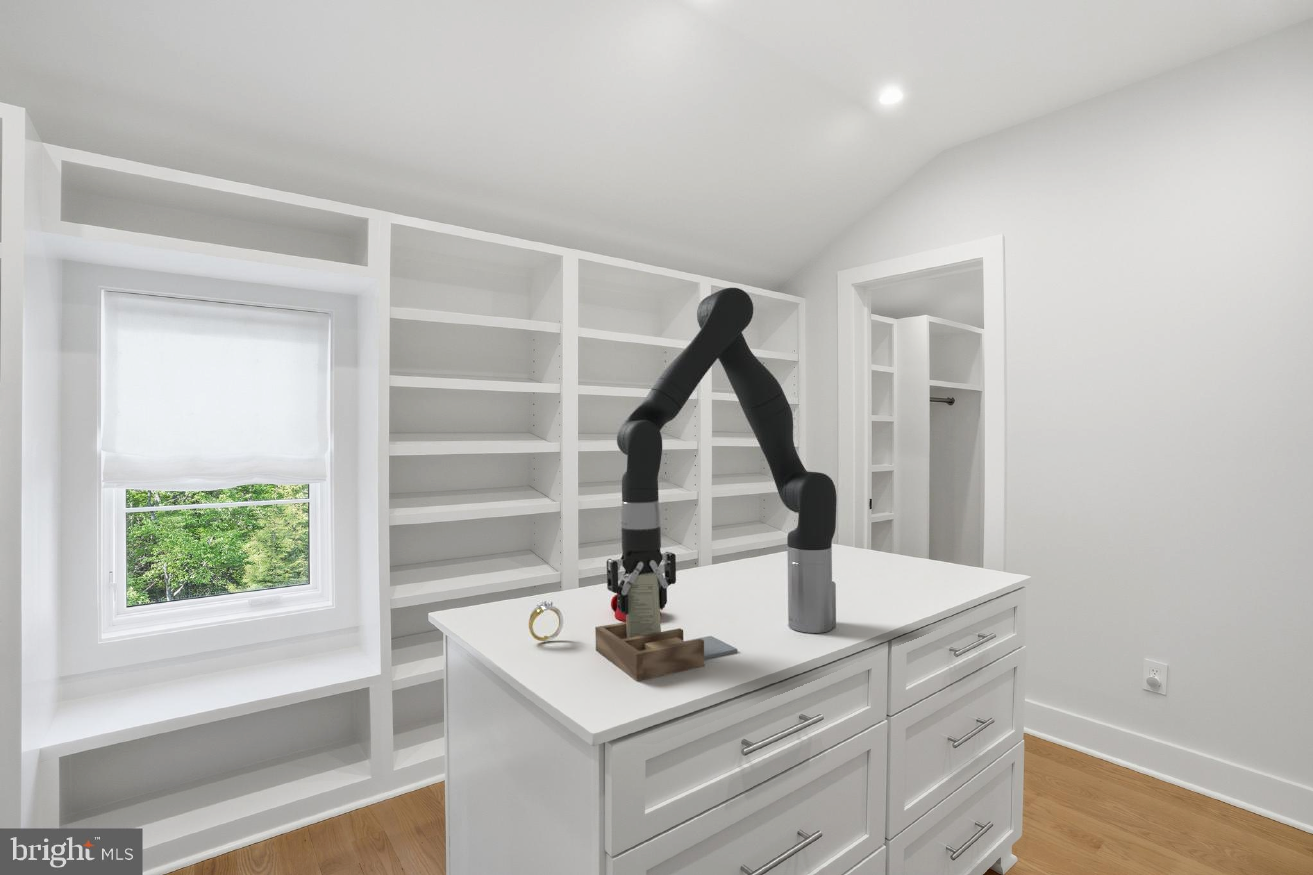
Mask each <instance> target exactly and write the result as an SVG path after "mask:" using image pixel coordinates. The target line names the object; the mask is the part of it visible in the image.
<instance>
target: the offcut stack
mask: <svg viewBox="0 0 1313 875" xmlns="http://www.w3.org/2000/svg"><path fill="white" fill-rule="evenodd" d="M685 641H686V640H684V639H683V640H681V639H679V638H678V637H676V638H670V639H665V640H660V641H654V642H649V643H645V650H647V649H652V648H657V647H662V646H667V645H672V644H677V643H682V642H685Z"/></svg>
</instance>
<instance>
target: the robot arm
mask: <svg viewBox="0 0 1313 875" xmlns="http://www.w3.org/2000/svg"><path fill="white" fill-rule="evenodd" d="M698 304H699V305H697V306H698V307H697V311H696V317H697V319H696V320H697V323H698V326H699V328H700V330H699V331H698V333H697V334H696V336H695V337H694V338H693V339H692V341H691V342H690V343H688V345H687V346H686V347H685V348H684V349H683V351H682V352H680V353H679V355H677V357H676V358H675V359H674V360H672V361H671V363H670V364H669V365H668V366H667V367H666V369H665V370H664V371H663V372H662V373H661V375H660V376H659V378H658V379H657V381H656V382H655V383H654V385H653V387H651V389H650V390H649V392H648V394H647V396H646V397H645V398H644V399H643V401H642V402H641V403H640V404H639V405H638V406H637V407H636V408H635V409H634V410H633V411H632V413H630V414H629V416H628V417H627V418H626V419H625V420H624V421H623V423H622V424H621V426H620V427H619V430H618V433H617V434H616V445H617V446H618V449H619V451H621V453H623V454H624V455H626V457H627V459H626V463H627V464H626V471H625V472H624V473H623V475H622V478H621V501H622V502H621V510H620V512H621V513H620V525H621V527H620V528H621V529H620V531H621V551H622V555H621V556H620V558H618V559H612V558H608V559H607V560H606V581H607V582H606V584H607V585H606V586H607V587H606V589H607V590H608V591H610V592H612V593H614V594H617V602H618V603H617V604H618V610H619V611H620V612H621V613H622V614H624V615H626V614H628V595H627V592H628V590H629V588H630V586H631V585H633V583H634V581H635V580H636V578H637V576H638V575H640V574H645V573H651V572H654V573H657V578H658V583H659V603H660V608H663V609H664V608H666V605H667V603H668V587H669V586H671V585H675V584H676V582H677V568H676V567H677V557H676V556H677V555H676V554H675V553H673V552H670V551H665V552H664V553H662V552H661V548H662V536H661V534H662V533H661V525H662V524H661V508H660V501H659V474H660V473H659V472H660V470H661V469H660V468H661V464H662V463H661V461H662V455H663V437H662V434H661V430H662V429H663V428H664V426H665V425H666V424H668V423H669V422H671V421H673V420H674V419H675V418H676V417H677V416H678V415H679V414H680V412H681V410H682V409H683V408H684V406H685V405H686V403H687V402H688V400H689V398H690V397H691V395H692V394H693V392H694V391H695V390H696V388H697V387H698V385H699V384H700V382H701V381H702V379H703V378H704V377H705V375H706V374H707V373H708V372H709V370H710V369H711V367H712V366H713V365H714V364H715V362H716V361H717V360H718V361H719V363H720V364H721V366H722V367H723V371H724V372H725V374H726V377H727V379H728V382H729V383H730V386H731V388H732V389H733V391H734V392H733V393H735V395H736V398H737V399H738V402H739V405H740V407H741V409H742V411H743V413H744V415H745V418H746V420H747V422H748V424H749V426H750V428H751V429H752V431H753V434H754V436H755V438H756V440H757V442H758V444H759V446H760V449H761V451H762V453H763V455H764V458H766V461H767V464H768V467H769V469H770V471H771V475H772V478H773V480H774V483H775V487H776V491H777V492H778V495H779V498H780V499H781V502H782V503H783V505H784V506H785V507H786V508H787V509H788V510H790V511H791V512H793V513H797V514H798V519H797V526H796V528H795V529H794V530H793V529H792V530H791V531H789V532H788V533H787V545H786V546H787V552H786V553H787V615H788V616H787V618H788V622H787V623H788V624H787V626H788V627H789V628H790V629H792V630H795V631H797V632H802V633H810V634H821V633H826V632H830V631H832V630H833V628H836V627H837V596H836V595H837V594H836V593H837V592H836V591H837V590H836V588H837V587H836V585H837V584H836V582H835V581H833V546H832V544H833V542H832V541H833V538H834V536H835V532H836V525H837V503H838V502H837V501H838V499H837V490H836V489H837V488H836V486H835V483H834V481H833V480H832V478H831V477H830V476H829V475H828V474H826V473H822V472H816V471H809V470H806V468H805V466H804V464H803V462H802V460H801V458H800V457H799V455H798V453H797V450H796V446H795V442H794V417H793V411H792V407H791V405H790V404H789V401H788V399H787V397H786V394H785V392H784V390H783V388H782V386H781V384H780V382H779V381H778V379H776V377H775V376H774V375H773V373H771V371H770V370H769V369H768V368H767V367H766V366H765V365H764V364H763V363H762V362H760V360H759V359H758V358H757V357H756V356H755V354H754V353H753V352H752V351H751V349H750V348H749V345H748V343H747V341H746V339H745V337H744V334H743V332H744V331H745V329H746V328H747V327H748V326H749V325H750V323H751V321H752V319H753V317H754V303H753V300H752V298H751V297H750V295H749V294H748V293H747V291H744V290H743V289H742V288H739V287H727V288H723V289H721V290H718V291H715V292H714V293H711V294H710V295H708V296H706V297H705V298H703V299H702V300H701V301H700V303H698ZM661 563H662V564H664V570H663V571H664V573H662V571H661V570H660V567H659V566H660V565H661ZM621 566H622V568H624V570H623V572H622V574H621V576H620V579H619V571H620V570H621ZM626 574H629V575H630V576H629V577H628V578H625V579H624V575H626ZM624 581H625V583H624Z"/></svg>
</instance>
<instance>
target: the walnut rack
mask: <svg viewBox="0 0 1313 875" xmlns="http://www.w3.org/2000/svg"><path fill="white" fill-rule="evenodd" d="M676 637H678V638H679V639H681V640H683V641H684V629H682V628H675V629H670V630H663V631H661V632H658V633H652V634H647V635H642V636H636V637H631V638H627V626H626V621H621V622H618V623H617V622H616V623H612V624H611V623H610V624H607V625H599V626H595V651H596V652H597V653H599V654H600V655H601V656H603V657H604V658H605V659H607V660H608V661H609V662H610V663H612V664H613V665H615V667H617V668H618V669H620V670H621V671H622V672H623V673H625V674H626V675H628V676H629V677H630V678H631V679H633V680H635V681H636V682H641V681H643V680H648V679H652V678H656V677H661V676H664V675H669V674H674V673H679V672H683V671H688V670H691V669H695V668H701V667H705V659H704V640H702V639H697V638H696V639H697V640H692V639H691V640H692V641H687V640H686V641H687V642H682V643H677V644H672V645H667V646H662V647H657V648H652V649H647V650H645V643H649V642H654V641H660V640H665V639H670V638H676Z"/></svg>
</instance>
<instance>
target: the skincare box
mask: <svg viewBox="0 0 1313 875" xmlns="http://www.w3.org/2000/svg"><path fill="white" fill-rule="evenodd" d="M629 576H630V575H629V574H626V575H624V579H625V578H628V577H629ZM624 583H625V581H624ZM627 595H628V614H626V621H625V622H626V626H627V638H631V637H636V636H642V635H647V634H652V633H658V632H662V626H661V617H660V612H661V609H660V603H659V583H658V578H657V573H654V572H651V573H645V574H640V575H638V576H637V578H636V580H635V581H634V583H633V585H631V586H630V588H629V590H628V592H627Z"/></svg>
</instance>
